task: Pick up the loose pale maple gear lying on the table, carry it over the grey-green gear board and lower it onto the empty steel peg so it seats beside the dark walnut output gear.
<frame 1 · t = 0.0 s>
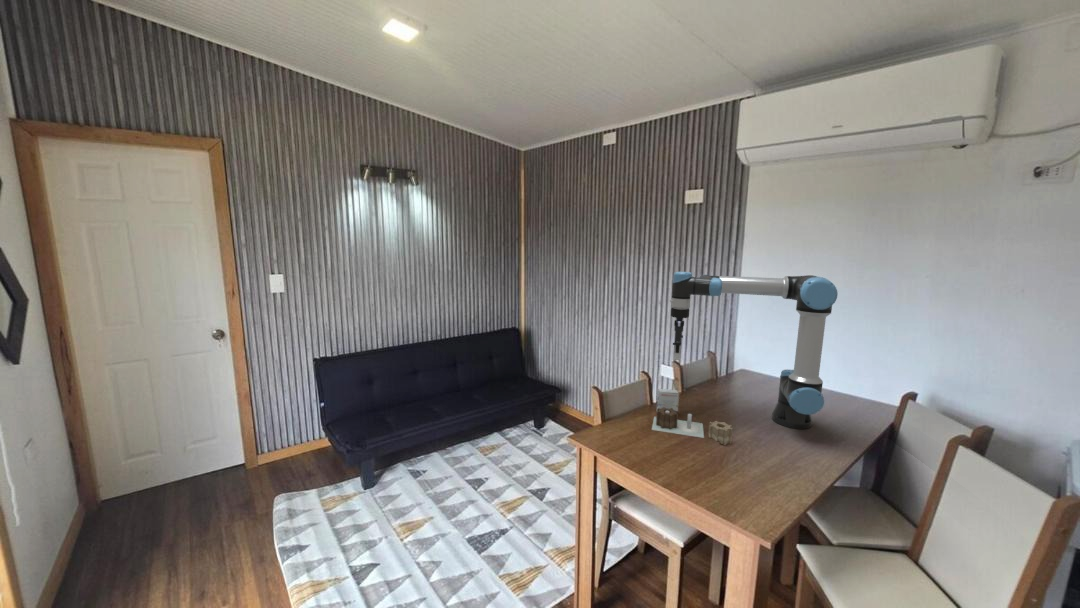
hand: (677, 355, 184), 28 cm above the table, fingers open, 13 cm apart
output gear: (666, 424, 177), resting on gear board
ink box: (666, 416, 189), on the table
gear board: (677, 429, 175), on the table
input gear: (719, 439, 167), on the table
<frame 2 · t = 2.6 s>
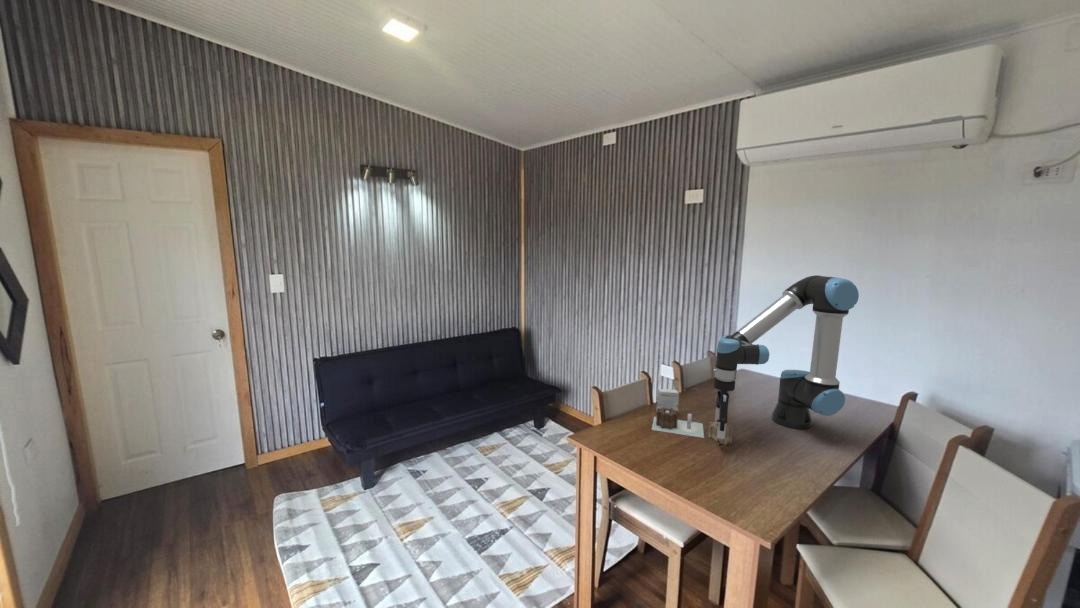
hand: (719, 430, 166), 4 cm above the table, fingers open, 13 cm apart
nothing on the table moved.
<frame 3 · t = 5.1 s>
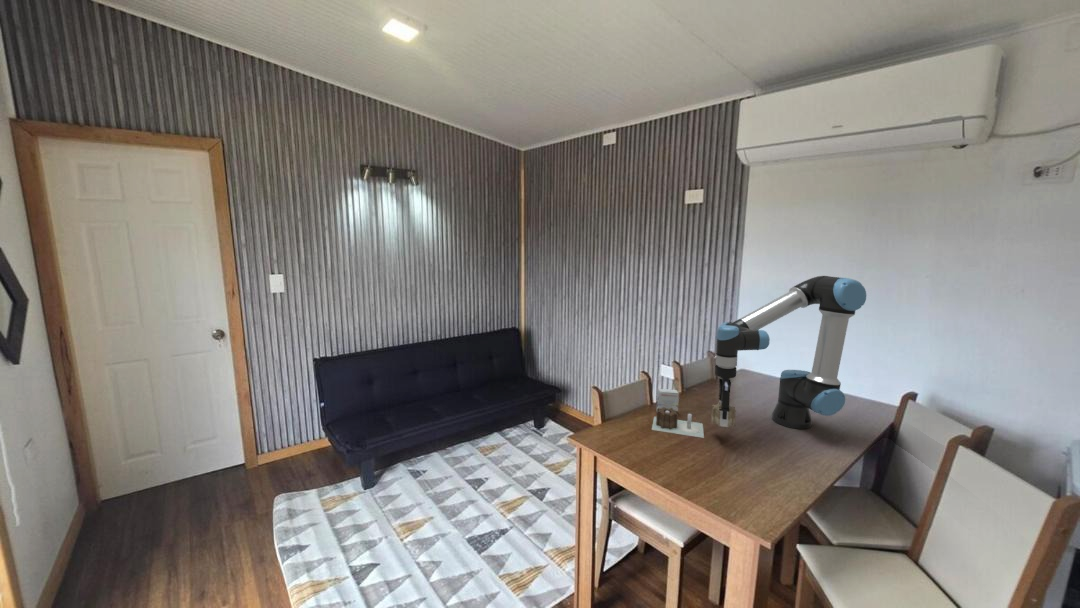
hand: (722, 421, 166), 8 cm above the table, fingers closed on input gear, 8 cm apart
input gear: (722, 422, 166), point 7 cm above the table, touching gripper
everything else where it was.
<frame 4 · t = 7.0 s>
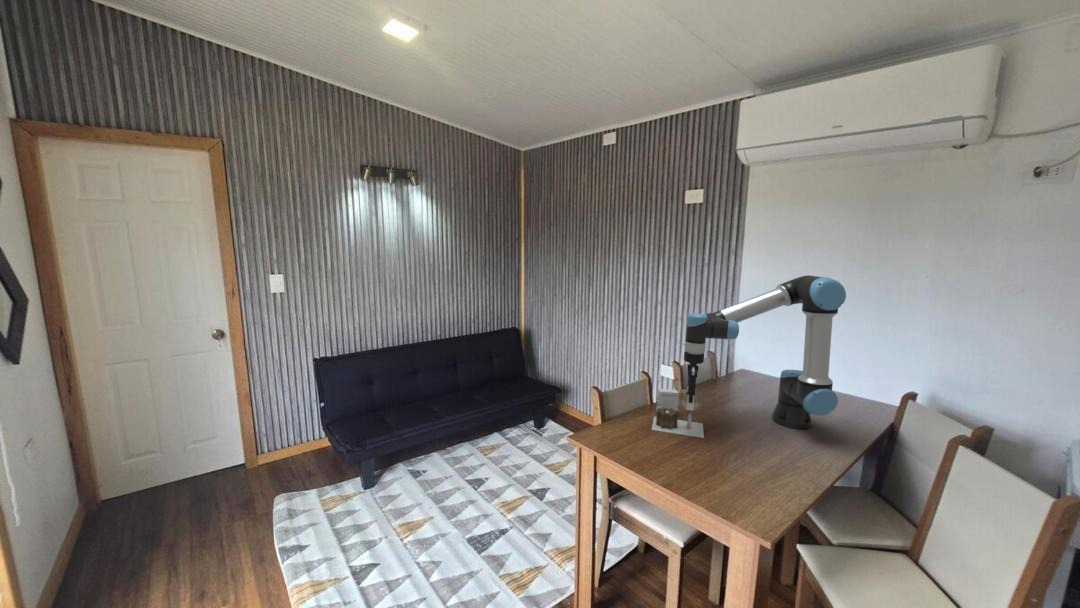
hand: (689, 405, 172), 11 cm above the table, fingers closed on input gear, 8 cm apart
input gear: (689, 406, 172), point 11 cm above the table, touching gripper
everything else where it was.
when the fingers open (3 cm above the table, at t = 9.1 s): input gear drops 2 cm, resting on gear board.
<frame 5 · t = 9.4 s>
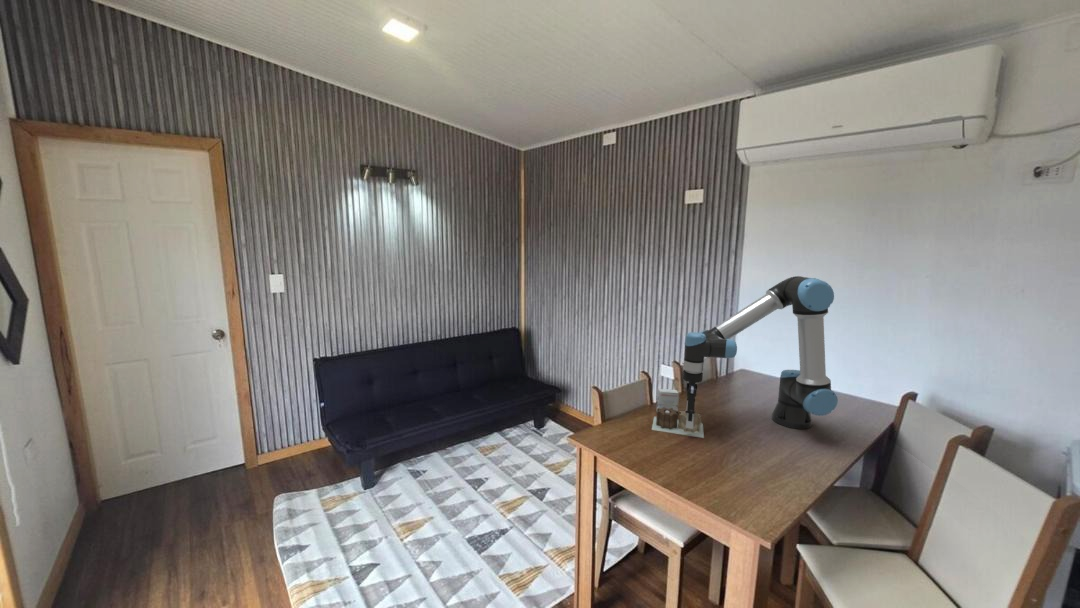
hand: (689, 422, 173), 4 cm above the table, fingers open, 11 cm apart
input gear: (688, 428, 174), point 1 cm above the table, touching gear board
everything else where it was.
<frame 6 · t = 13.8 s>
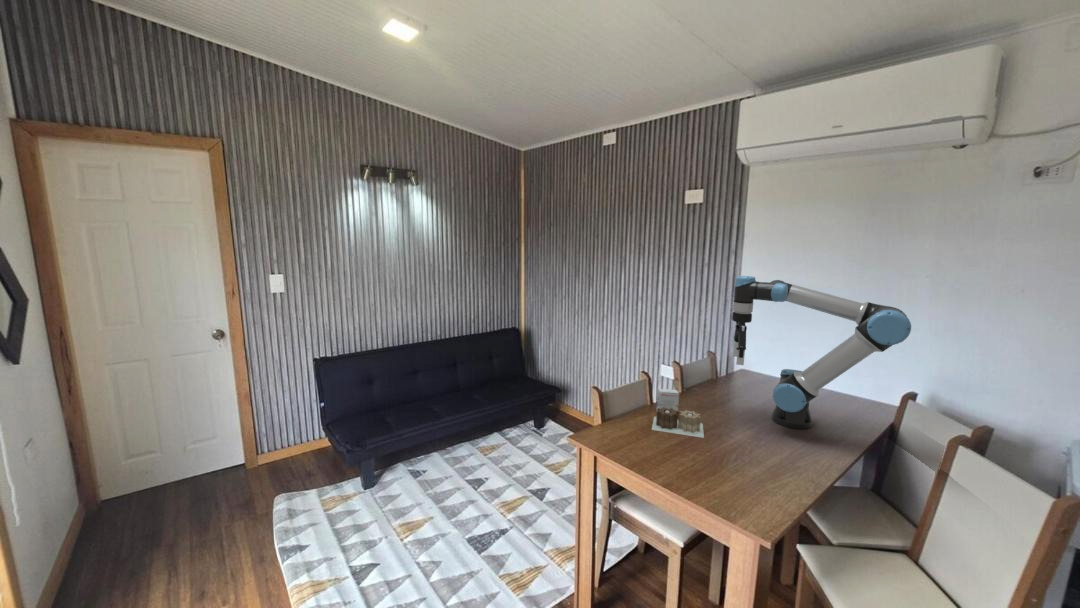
hand: (738, 360, 183), 27 cm above the table, fingers open, 13 cm apart
nothing on the table moved.
at the end: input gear 0.0 cm from the target spot on the gear board, point 1.3 cm above the gear board's base; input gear tilted 0°; the gripper is holding nothing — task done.
